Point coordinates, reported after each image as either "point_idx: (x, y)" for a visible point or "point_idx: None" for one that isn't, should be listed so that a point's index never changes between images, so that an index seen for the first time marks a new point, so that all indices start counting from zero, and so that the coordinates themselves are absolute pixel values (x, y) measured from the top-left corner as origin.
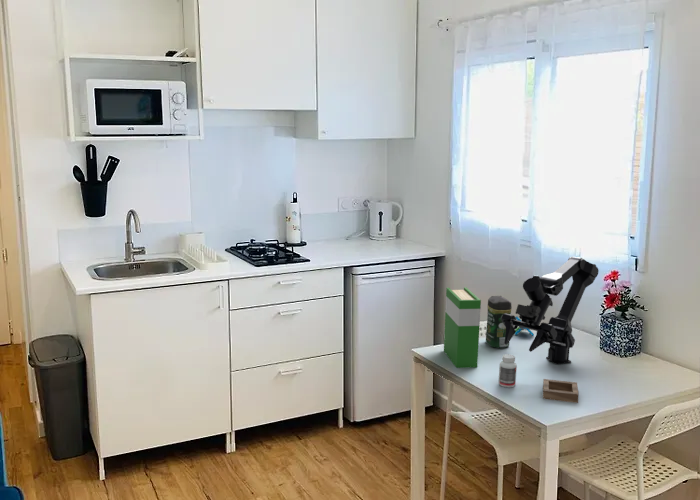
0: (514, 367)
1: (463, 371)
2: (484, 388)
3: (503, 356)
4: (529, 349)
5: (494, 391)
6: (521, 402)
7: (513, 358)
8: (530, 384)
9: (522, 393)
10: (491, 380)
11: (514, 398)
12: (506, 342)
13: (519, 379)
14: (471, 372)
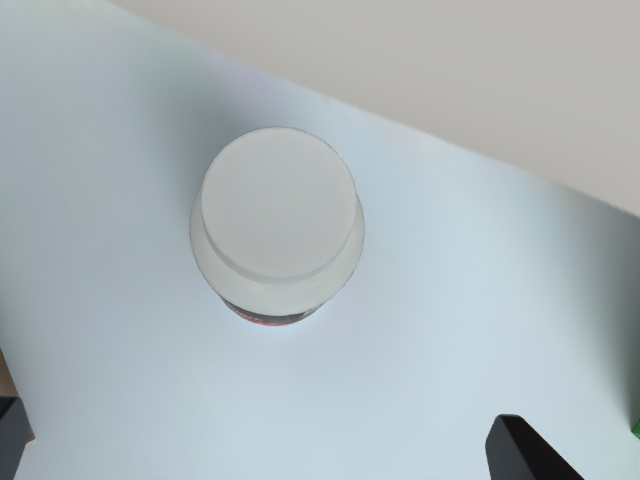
0: (193, 208)
1: (634, 279)
2: (353, 108)
3: (324, 147)
4: (5, 401)
5: (277, 106)
6: (49, 59)
7: (203, 183)
8: (138, 405)
9: (110, 198)
10: (400, 265)
11: (117, 87)
12: (503, 447)
13: (258, 441)
14: (587, 302)
